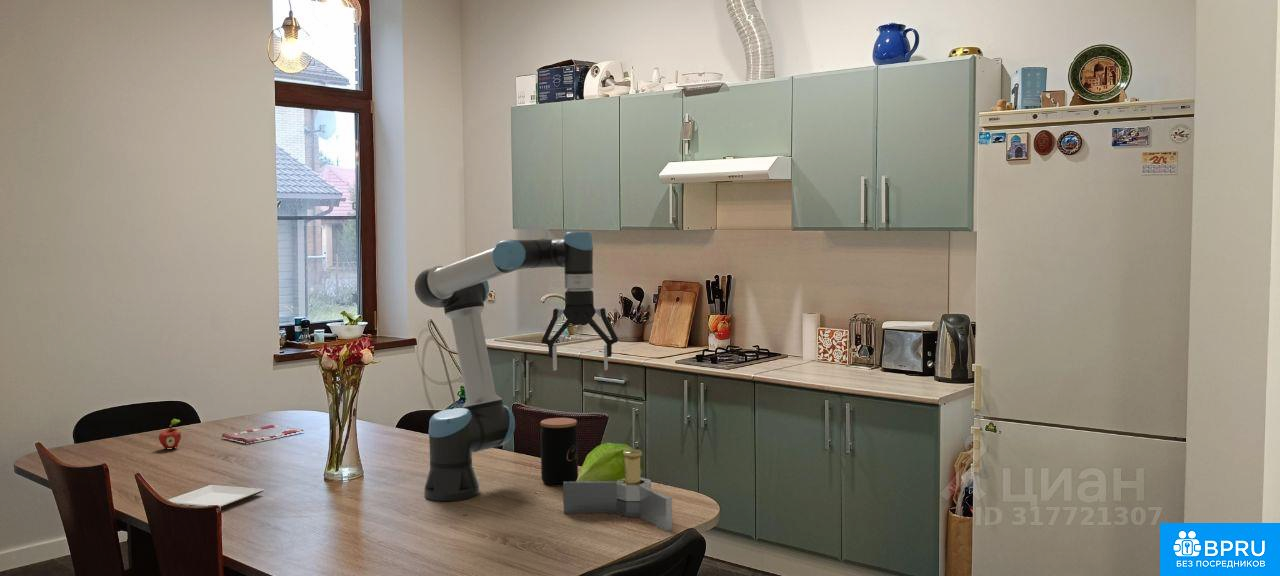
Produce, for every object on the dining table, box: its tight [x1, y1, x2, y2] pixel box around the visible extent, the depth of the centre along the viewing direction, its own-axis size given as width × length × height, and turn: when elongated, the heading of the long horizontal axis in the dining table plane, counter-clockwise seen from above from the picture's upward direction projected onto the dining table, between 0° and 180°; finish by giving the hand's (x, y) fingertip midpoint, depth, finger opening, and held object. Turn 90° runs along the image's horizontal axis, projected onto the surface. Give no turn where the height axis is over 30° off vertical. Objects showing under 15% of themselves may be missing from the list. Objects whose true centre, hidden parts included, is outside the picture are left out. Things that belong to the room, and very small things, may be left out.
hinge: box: [562, 477, 673, 532], centre depth 253 cm, size 28×21×8 cm
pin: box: [623, 449, 643, 485], centre depth 259 cm, size 5×5×16 cm
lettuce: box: [576, 442, 644, 481], centre depth 277 cm, size 15×22×15 cm
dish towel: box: [221, 424, 304, 443], centre depth 361 cm, size 17×23×3 cm
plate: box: [167, 484, 265, 509], centre depth 275 cm, size 19×19×2 cm
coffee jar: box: [540, 417, 579, 487], centre depth 290 cm, size 11×11×18 cm
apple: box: [158, 418, 182, 449], centre depth 342 cm, size 8×7×10 cm
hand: (580, 369), depth 263 cm, fingers open, 13 cm apart
